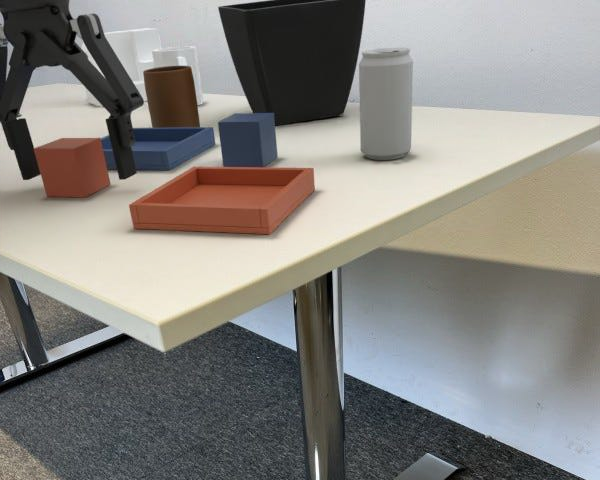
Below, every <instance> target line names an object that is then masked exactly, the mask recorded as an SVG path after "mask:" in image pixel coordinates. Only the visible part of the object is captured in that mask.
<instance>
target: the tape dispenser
mask: <svg viewBox="0 0 600 480" xmlns="http://www.w3.org/2000/svg"><path fill="white" fill-rule="evenodd" d="M104 35H105V37H106V39H107V41H108V42H109V44H110V46H111V47H112V49H113V50H114V52H115V54H116V55H117V57H118V59H119V60H120V62H121V63H122V65H123V67H124V68H125V70H126V72H127V73H128V75H129V77H130V78H131V80H132V81H133V83H134V85H135V86H136V88H137V90H138V91H139V93H140V94H141V96H142V98H143V100H144V102H147V96H146V91H145V85H144V75H143V71H145V70H148V69H152V68H155V67H154V61H153V55H152V51H153V50H155V49H161V48H163V46H162V40H161V35H160V28H154V27H153V28H152V27H145V28H135V29H126V30H117V31H109V32H108V31H107V32H104ZM80 48H81V49H82V50H83V51H84V52H85V53H86V54H87V56H88V60H89V61H90V62H91V63H92V64H93V65H94V66H95V68H96V69H97V70H98V71H99V72H100V73H101V74H102V75H103V73H102V72H101V70H100V69H99V67H98V65H97V64H96V62H95V61H94V59H93V57H92V56H91V54H90V53H89V51H88V49H87V48H86V46H85V44H84V42H83V43H82V45H81V47H80ZM103 76H104V75H103ZM84 89H85V93H86V98H87V101H88V103H89V104H91V105H94V106H96V107H103V106H102V105H101V103H100V102H99V101H98V100H97V99H96V98H95V97H94V96H93V95H92V94H91V93H90V92H89V91H88V90H87V88H86V87H85V86H84Z"/></svg>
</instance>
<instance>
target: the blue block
mask: <svg viewBox="0 0 600 480" xmlns="http://www.w3.org/2000/svg"><path fill="white" fill-rule="evenodd" d="M217 126H218V135H219V142H220V150H221V151H220V152H221V158H222V165H223V166H222V167H266V166H268V165H269V164H271V163H272V162H273V161H275V160H276V159H278V158H279V157H278V155H279V154H278V145H277V134H276V125H275V119H274V113H253V112H245V113H244V112H240V113H239V112H237V113H233V114H231V115H229V116H227V117H225V118H223V119H221V120H219V121H217Z"/></svg>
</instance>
